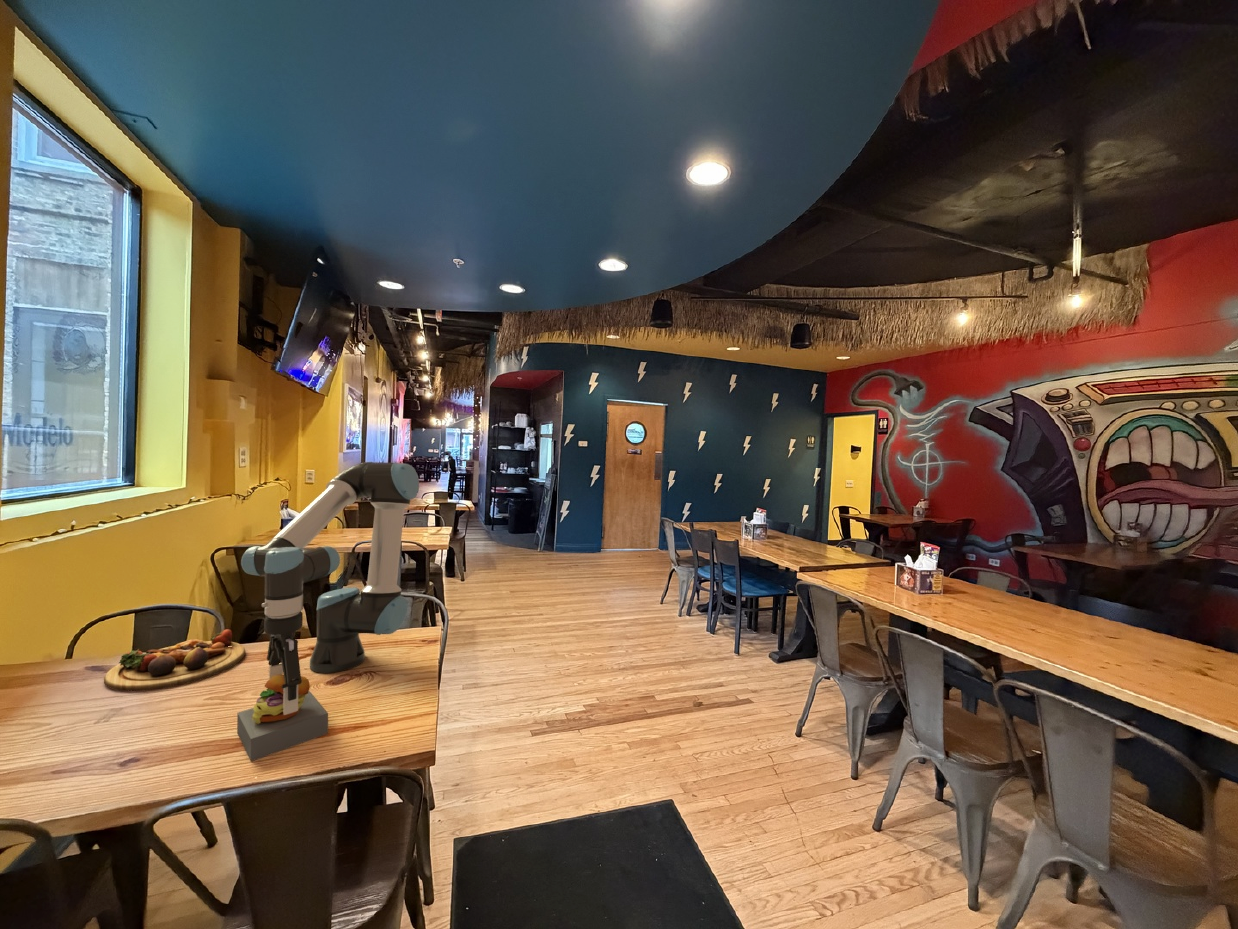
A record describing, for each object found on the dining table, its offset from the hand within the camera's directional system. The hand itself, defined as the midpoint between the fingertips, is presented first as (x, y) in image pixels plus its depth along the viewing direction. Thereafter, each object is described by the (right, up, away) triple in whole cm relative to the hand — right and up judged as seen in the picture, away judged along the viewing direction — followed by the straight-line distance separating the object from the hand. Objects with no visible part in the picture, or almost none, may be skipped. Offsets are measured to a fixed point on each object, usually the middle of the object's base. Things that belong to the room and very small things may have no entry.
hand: (283, 701), depth 116 cm
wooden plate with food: (-55, -6, +34) cm, 65 cm away
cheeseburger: (-1, -3, 0) cm, 3 cm away
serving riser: (0, -8, 0) cm, 8 cm away
